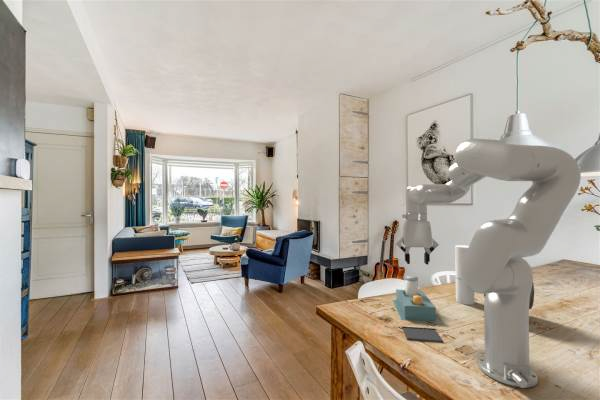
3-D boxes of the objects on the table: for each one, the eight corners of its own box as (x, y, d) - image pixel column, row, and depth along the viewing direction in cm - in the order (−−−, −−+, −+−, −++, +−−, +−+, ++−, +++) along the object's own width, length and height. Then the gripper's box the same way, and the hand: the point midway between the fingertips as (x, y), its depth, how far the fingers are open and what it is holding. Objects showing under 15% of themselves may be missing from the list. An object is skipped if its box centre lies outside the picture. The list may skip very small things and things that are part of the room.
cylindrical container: (477, 305, 117) (476, 248, 117) (459, 304, 119) (458, 247, 119) (470, 299, 124) (469, 245, 124) (453, 298, 126) (452, 244, 126)
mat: (442, 342, 88) (442, 340, 88) (407, 339, 89) (407, 338, 89) (432, 326, 98) (432, 325, 98) (400, 324, 100) (400, 323, 100)
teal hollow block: (441, 324, 100) (440, 308, 100) (401, 322, 102) (401, 306, 102) (425, 303, 120) (425, 289, 120) (392, 301, 123) (392, 288, 123)
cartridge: (419, 308, 112) (419, 279, 112) (406, 307, 113) (406, 278, 113) (416, 304, 117) (416, 275, 117) (404, 303, 118) (404, 275, 118)
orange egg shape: (423, 309, 103) (423, 298, 104) (414, 309, 104) (414, 297, 104) (421, 306, 107) (420, 295, 107) (412, 306, 107) (412, 295, 107)
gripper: (395, 218, 103) (395, 265, 103) (443, 218, 100) (444, 266, 100) (391, 217, 111) (392, 260, 111) (437, 216, 108) (437, 262, 108)
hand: (417, 263), depth 105 cm, fingers open, 6 cm apart
